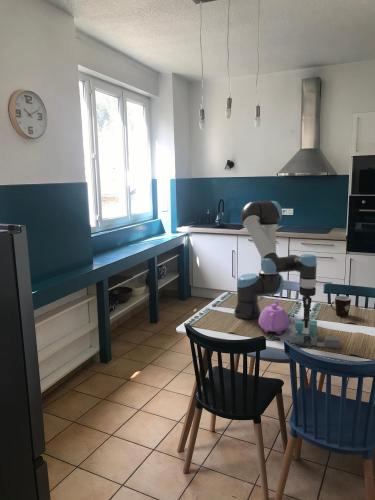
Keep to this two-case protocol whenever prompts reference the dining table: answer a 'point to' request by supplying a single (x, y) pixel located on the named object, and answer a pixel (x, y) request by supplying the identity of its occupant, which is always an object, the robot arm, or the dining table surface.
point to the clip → (311, 326)
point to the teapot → (274, 318)
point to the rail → (315, 341)
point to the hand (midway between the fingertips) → (306, 329)
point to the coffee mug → (342, 305)
